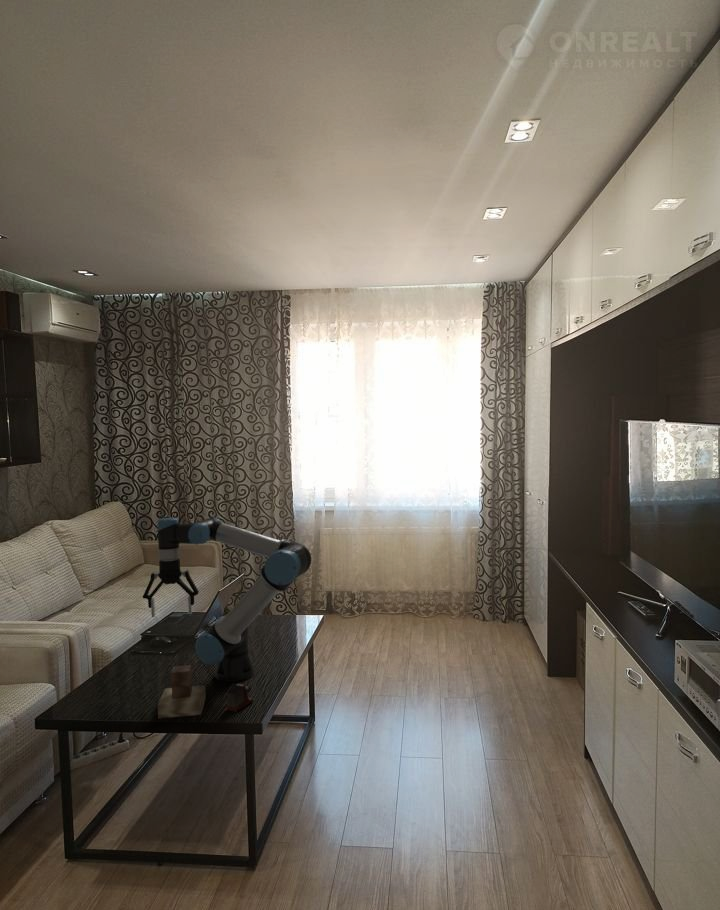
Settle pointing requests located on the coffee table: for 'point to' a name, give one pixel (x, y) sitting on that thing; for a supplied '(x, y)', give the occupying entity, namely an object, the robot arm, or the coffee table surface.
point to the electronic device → (238, 697)
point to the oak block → (181, 703)
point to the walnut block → (181, 681)
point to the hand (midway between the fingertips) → (172, 615)
